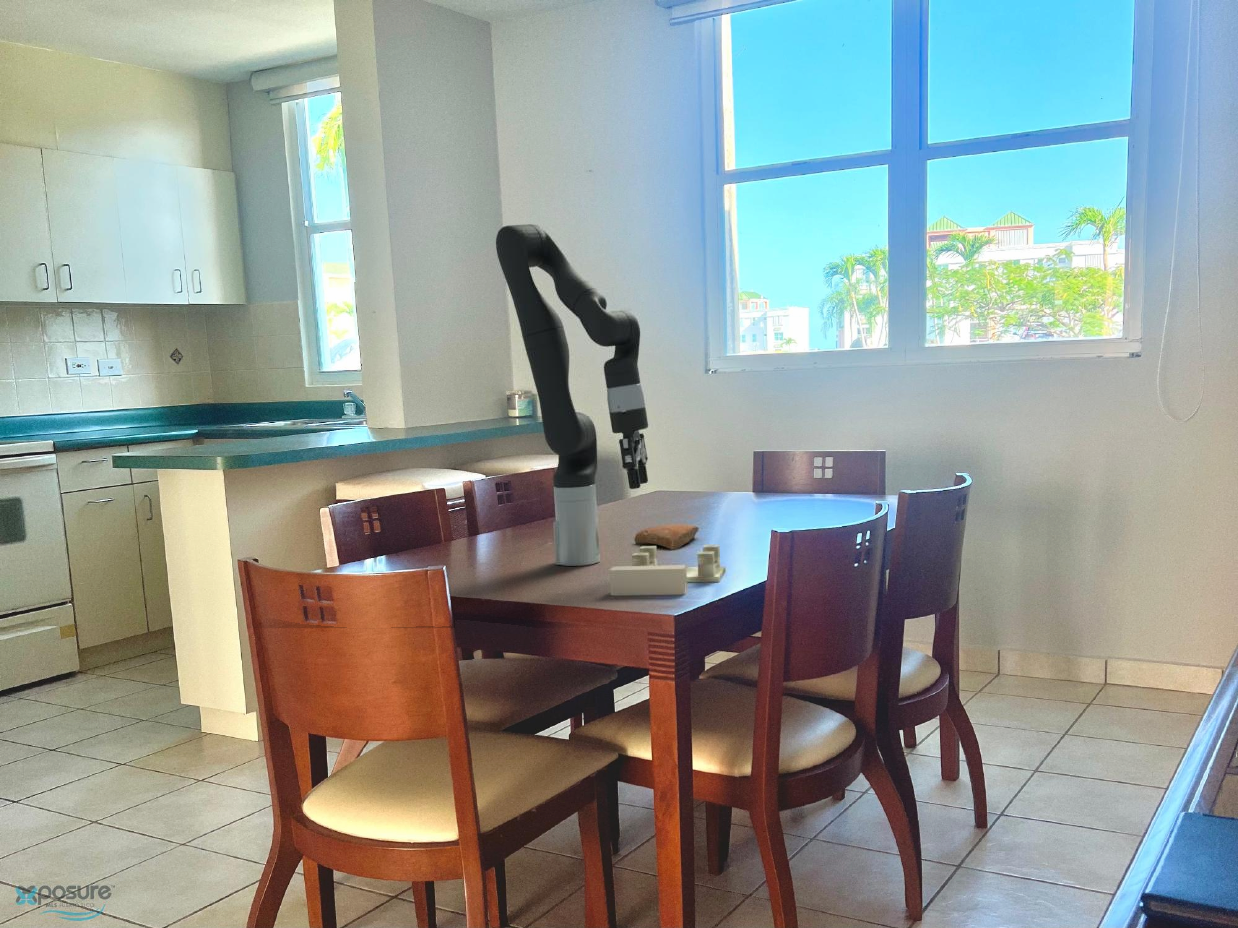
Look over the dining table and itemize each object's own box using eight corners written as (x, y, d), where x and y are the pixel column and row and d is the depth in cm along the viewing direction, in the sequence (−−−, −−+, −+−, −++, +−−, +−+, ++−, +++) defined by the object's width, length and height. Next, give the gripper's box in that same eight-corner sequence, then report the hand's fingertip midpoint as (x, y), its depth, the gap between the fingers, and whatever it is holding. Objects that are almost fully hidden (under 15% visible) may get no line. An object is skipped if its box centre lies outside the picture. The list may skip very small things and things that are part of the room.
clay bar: (610, 596, 192) (609, 570, 191) (614, 592, 195) (613, 566, 195) (685, 595, 189) (683, 568, 189) (687, 591, 193) (686, 564, 192)
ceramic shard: (718, 520, 244) (669, 538, 236) (720, 546, 246) (671, 564, 237) (678, 508, 255) (631, 524, 247) (680, 532, 257) (633, 549, 249)
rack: (628, 582, 202) (626, 555, 202) (638, 572, 212) (637, 546, 212) (719, 581, 198) (717, 553, 198) (725, 571, 208) (724, 544, 207)
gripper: (616, 409, 218) (628, 484, 219) (601, 412, 204) (614, 492, 205) (651, 404, 217) (662, 479, 218) (638, 407, 203) (650, 487, 204)
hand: (639, 485), depth 211 cm, fingers open, 8 cm apart
